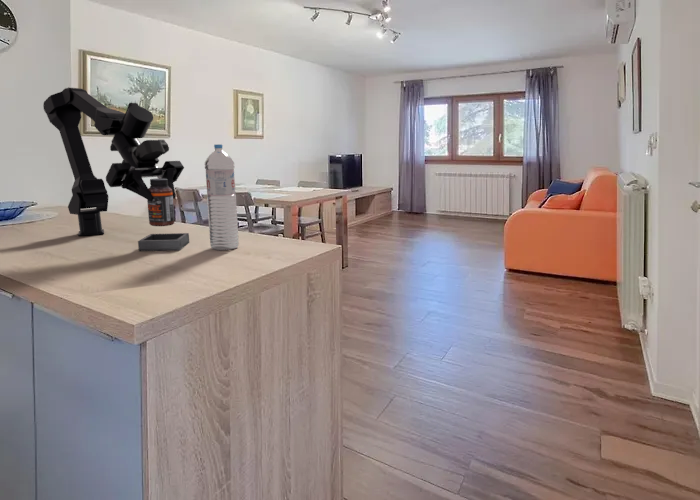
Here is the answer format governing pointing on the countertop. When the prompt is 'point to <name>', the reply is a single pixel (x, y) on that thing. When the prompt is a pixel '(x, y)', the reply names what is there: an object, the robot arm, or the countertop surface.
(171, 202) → the supplement bottle
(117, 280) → the countertop surface
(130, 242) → the countertop surface
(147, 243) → the tray
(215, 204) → the water bottle
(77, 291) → the countertop surface
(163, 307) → the countertop surface
